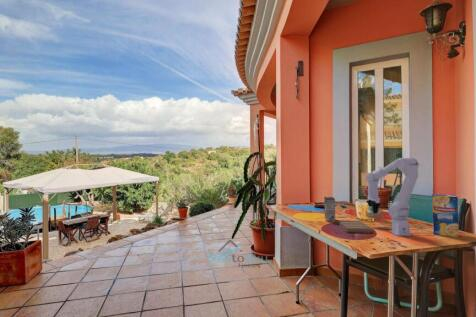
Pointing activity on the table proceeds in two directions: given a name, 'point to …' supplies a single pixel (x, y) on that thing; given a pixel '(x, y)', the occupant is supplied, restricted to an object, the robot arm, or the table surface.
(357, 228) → the dock
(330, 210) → the coffee box
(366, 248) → the table surface
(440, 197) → the blue cereal box
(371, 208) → the teal block
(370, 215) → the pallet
